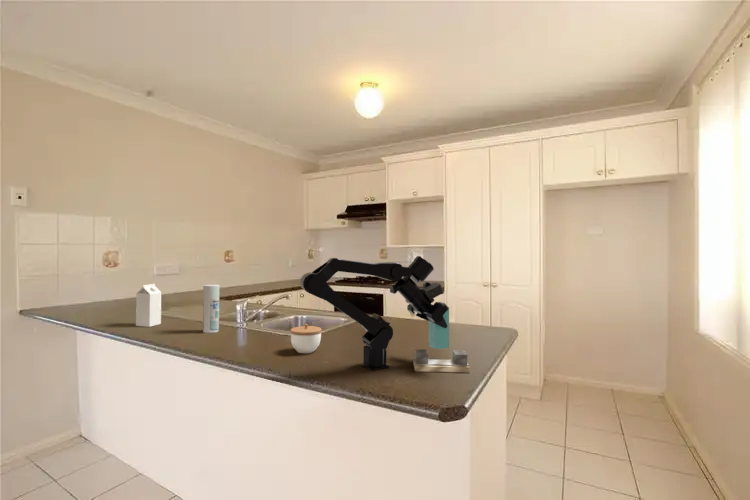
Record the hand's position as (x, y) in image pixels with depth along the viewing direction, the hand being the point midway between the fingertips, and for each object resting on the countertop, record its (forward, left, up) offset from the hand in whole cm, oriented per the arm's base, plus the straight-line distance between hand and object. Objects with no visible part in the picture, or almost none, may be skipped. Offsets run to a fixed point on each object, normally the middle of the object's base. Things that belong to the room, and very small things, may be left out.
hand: (442, 325), depth 121 cm
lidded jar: (-31, +35, -11) cm, 48 cm away
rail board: (-7, -6, -11) cm, 14 cm away
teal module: (-1, 0, -7) cm, 7 cm away
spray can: (-50, +87, -11) cm, 101 cm away
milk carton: (-70, +117, -11) cm, 137 cm away
